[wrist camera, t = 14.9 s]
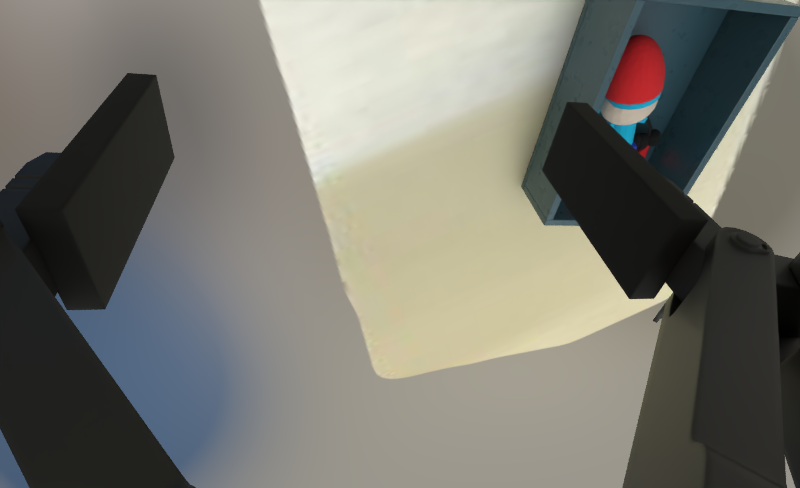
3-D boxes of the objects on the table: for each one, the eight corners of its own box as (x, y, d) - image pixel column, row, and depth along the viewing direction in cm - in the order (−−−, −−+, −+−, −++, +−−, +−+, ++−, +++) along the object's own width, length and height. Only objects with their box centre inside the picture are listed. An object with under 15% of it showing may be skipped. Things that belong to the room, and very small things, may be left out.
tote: (597, -32, 36) (641, -13, 31) (742, -14, 38) (805, 7, 33) (521, 187, 49) (543, 225, 44) (633, 190, 51) (666, 227, 46)
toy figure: (642, 146, 49) (672, 8, 37) (663, 179, 46) (703, 40, 34) (570, 165, 50) (577, 36, 38) (586, 197, 47) (598, 69, 35)
